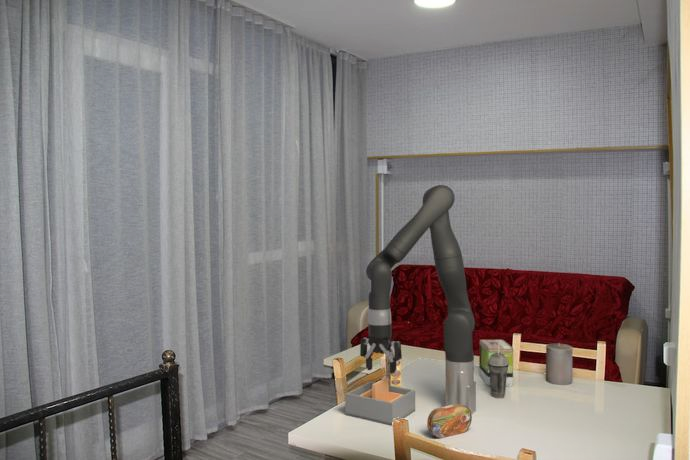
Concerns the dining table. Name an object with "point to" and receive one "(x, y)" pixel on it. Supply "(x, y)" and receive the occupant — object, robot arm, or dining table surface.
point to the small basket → (381, 391)
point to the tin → (449, 420)
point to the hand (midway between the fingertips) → (381, 371)
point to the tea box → (490, 348)
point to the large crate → (379, 405)
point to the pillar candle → (559, 364)
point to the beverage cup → (498, 374)
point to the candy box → (395, 377)
